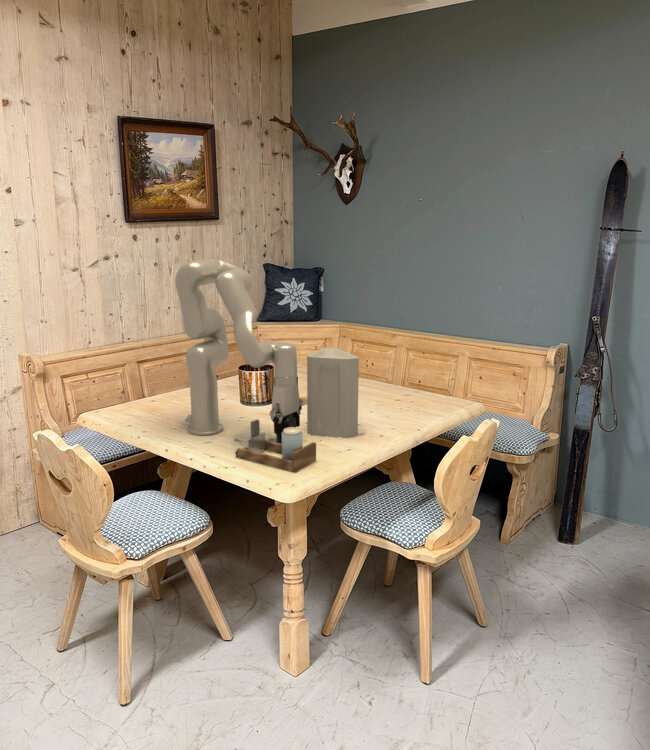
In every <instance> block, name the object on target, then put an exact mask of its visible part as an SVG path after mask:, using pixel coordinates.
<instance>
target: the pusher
mask: <svg viewBox="0 0 650 750" xmlns="http://www.w3.org/2000/svg"><path fill="white" fill-rule="evenodd" d="M260 427H261V426H260V419H254V420H252V421H250V437H248V438H247V437H246V438H245V440H244V439H239V438H236V437H234V438H233V441H234V442H236V443H240V444H245V447H246V449H247V450H251V451H255V452H259V453H262V452H264V451H266V450H265V440H266V433H265V432H263V431H261V432H260V429H261V428H260Z"/></svg>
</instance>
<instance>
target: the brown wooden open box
mask: <svg viewBox="0 0 650 750" xmlns="http://www.w3.org/2000/svg"><path fill="white" fill-rule="evenodd" d="M264 451H267V452H270V453H271V452H272V453H275V454H279V455H282V444H280V443H277V441H276V442H274V441H271V440H267V439H265V450H264ZM235 458H238V459H242V460H245V461H250V462H252V463H255V464H256V463H257V464H261V465H264V466H268V467H272V468H275V469H280V470H283V471H286V472H287V471H288V472H291V473H297V472H299V471H300V470H303V469H304V468H307V467H308V466H310V465H311V464H313V463H315V462H317V442H310V443H308V444H307V445H305V446H303V448H301V449H299V450H297V451H295V452H293V453H292V461H291V460H287V459H283V458H282V457H278V456H275V455H271V454H267V453H262V452H260V453H259V452H255V451H251V450H247V449H246V446H244V447H237V448H236V450H235Z"/></svg>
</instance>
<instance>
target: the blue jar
mask: <svg viewBox="0 0 650 750" xmlns="http://www.w3.org/2000/svg"><path fill="white" fill-rule="evenodd" d="M303 445H304V444H303V431H302V430H301V428H300V427H288V428H285V429H284V431H283V432H282V454H281V458H283V459H287V460H291V461H292V453H293V452H295V451H297V450H299V449H301V448H303V447H304V446H303Z"/></svg>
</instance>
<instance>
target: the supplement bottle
mask: <svg viewBox="0 0 650 750" xmlns="http://www.w3.org/2000/svg"><path fill="white" fill-rule="evenodd" d="M279 414H281V413H279ZM279 417H280V416H278V417H277V418H278V419H279ZM281 423H283V431H284V429H285V428H288V427H296V418H295V417H294V416H293V413H291V414H289V415H287V416H284V417H283V419H282V422H281ZM275 435H276V437H275V439H276V443H280V444H282V435H279V434H275Z"/></svg>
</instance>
